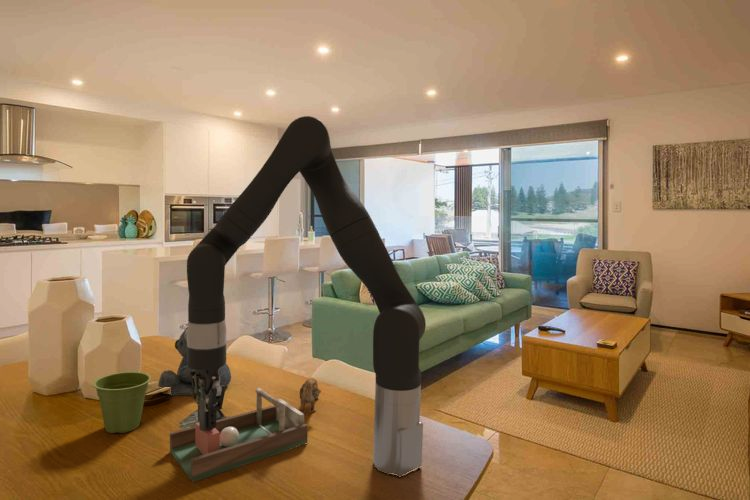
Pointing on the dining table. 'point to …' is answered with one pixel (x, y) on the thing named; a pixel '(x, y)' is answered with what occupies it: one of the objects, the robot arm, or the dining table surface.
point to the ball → (229, 436)
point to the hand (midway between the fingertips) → (207, 424)
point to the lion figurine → (309, 394)
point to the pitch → (243, 439)
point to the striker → (205, 434)
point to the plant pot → (122, 399)
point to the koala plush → (187, 372)
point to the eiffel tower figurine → (193, 419)
